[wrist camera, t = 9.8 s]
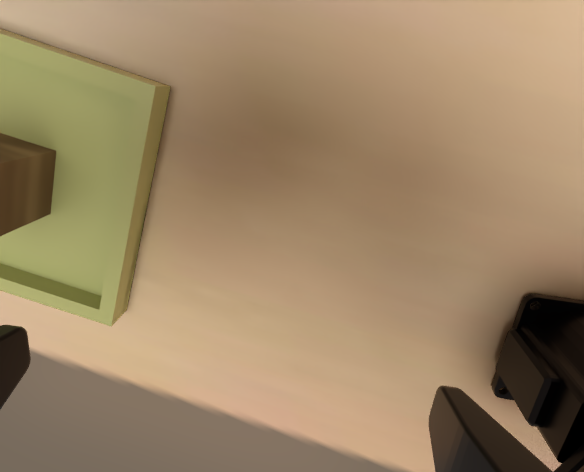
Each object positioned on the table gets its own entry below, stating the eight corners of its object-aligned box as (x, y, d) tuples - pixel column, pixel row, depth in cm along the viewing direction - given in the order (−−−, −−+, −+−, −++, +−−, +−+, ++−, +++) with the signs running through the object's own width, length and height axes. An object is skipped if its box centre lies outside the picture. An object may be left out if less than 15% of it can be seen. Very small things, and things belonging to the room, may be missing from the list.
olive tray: (170, 86, 19) (155, 86, 18) (126, 309, 24) (111, 326, 22) (-93, -4, 19) (-134, -12, 17) (-87, 240, 24) (-119, 251, 22)
